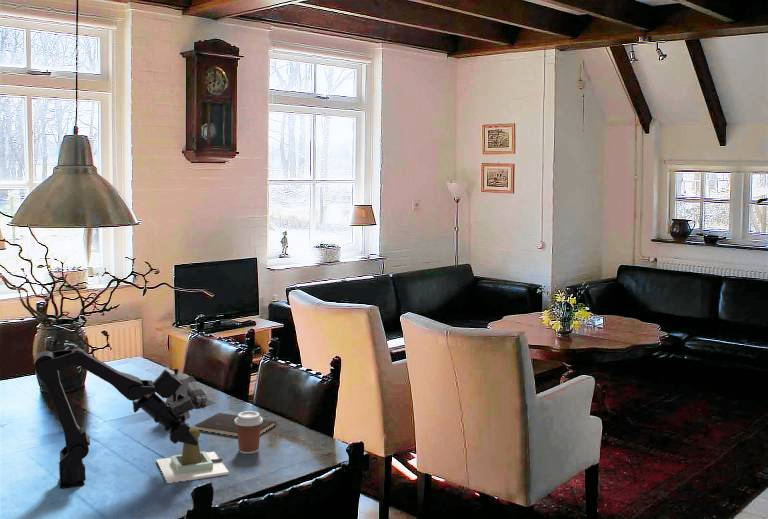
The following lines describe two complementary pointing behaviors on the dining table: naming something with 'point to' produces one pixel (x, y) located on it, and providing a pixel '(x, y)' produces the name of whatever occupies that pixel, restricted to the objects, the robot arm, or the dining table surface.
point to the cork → (191, 449)
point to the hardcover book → (227, 424)
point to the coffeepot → (180, 389)
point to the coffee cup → (248, 431)
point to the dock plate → (192, 468)
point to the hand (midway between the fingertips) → (195, 441)
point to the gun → (196, 392)
